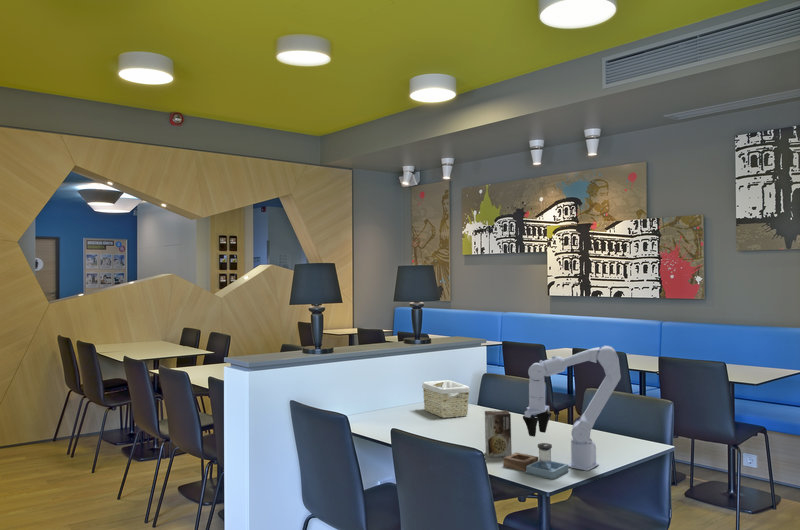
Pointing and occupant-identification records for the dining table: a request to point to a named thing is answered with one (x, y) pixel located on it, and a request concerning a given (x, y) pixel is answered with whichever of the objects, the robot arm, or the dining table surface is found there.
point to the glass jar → (545, 456)
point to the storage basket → (446, 398)
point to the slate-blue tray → (556, 471)
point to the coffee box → (498, 433)
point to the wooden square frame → (519, 461)
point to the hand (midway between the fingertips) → (537, 434)
